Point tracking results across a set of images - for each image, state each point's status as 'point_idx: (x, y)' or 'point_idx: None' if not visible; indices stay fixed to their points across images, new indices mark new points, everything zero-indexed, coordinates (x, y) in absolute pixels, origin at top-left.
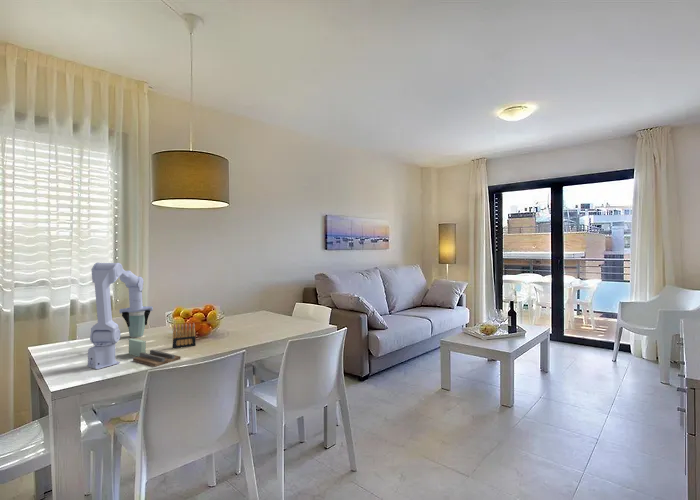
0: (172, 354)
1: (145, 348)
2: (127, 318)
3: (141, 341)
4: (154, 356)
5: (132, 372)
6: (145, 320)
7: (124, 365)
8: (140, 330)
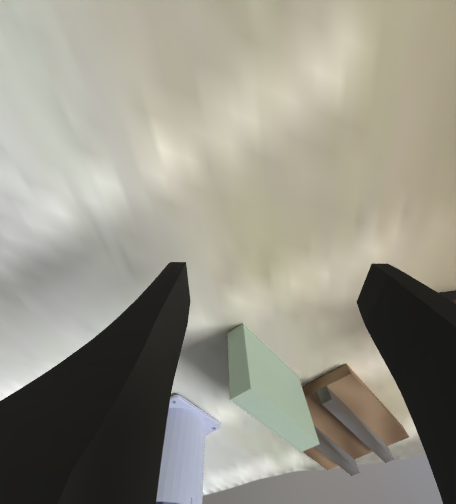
0: (389, 454)
1: (307, 406)
2: (159, 442)
3: (300, 443)
4: (332, 458)
5: (268, 476)
6: (398, 371)
7: (238, 436)
8: None
